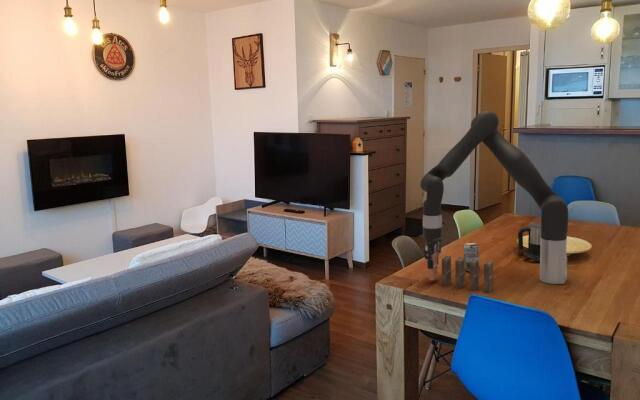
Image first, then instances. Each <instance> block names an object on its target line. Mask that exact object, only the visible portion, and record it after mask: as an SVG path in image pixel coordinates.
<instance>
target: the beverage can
mask: <svg viewBox="0 0 640 400" xmlns="http://www.w3.org/2000/svg"><path fill="white" fill-rule="evenodd" d="M479 251H480V250H479V245H478V244H477V242H469V243H468V242H466V243H464V246H463V258H465V271H468V272H470V266H469V262H470V261H472V260H473V259H479V260H480V254H479V253H480V252H479ZM479 270H480V265H479Z"/></svg>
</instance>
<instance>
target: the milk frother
mask: <svg viewBox="0 0 640 400" xmlns="http://www.w3.org/2000/svg"><path fill="white" fill-rule="evenodd" d="M528 225H529V226H523V227H520V228H519V230H518V231H517V245H518V246H517V247H518V250H519V251H522V250H524V238H523V237H524V236H523V234H524V233H526V232H528V240H527V241H528V243H527V244H528V245H527V252H528V253H527V252H523V255H524V256H526V257H527V258H528V259H531V260H532V261H534V262H536V263H537V262H540V246H541V222H530V223H529V224H528Z"/></svg>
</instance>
